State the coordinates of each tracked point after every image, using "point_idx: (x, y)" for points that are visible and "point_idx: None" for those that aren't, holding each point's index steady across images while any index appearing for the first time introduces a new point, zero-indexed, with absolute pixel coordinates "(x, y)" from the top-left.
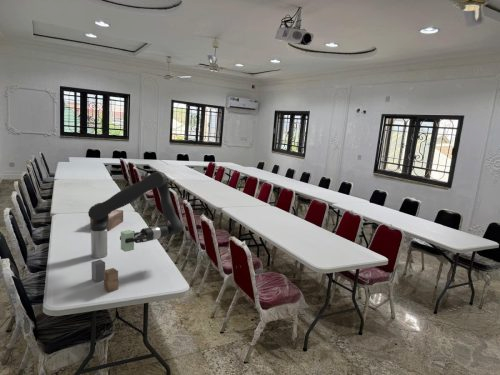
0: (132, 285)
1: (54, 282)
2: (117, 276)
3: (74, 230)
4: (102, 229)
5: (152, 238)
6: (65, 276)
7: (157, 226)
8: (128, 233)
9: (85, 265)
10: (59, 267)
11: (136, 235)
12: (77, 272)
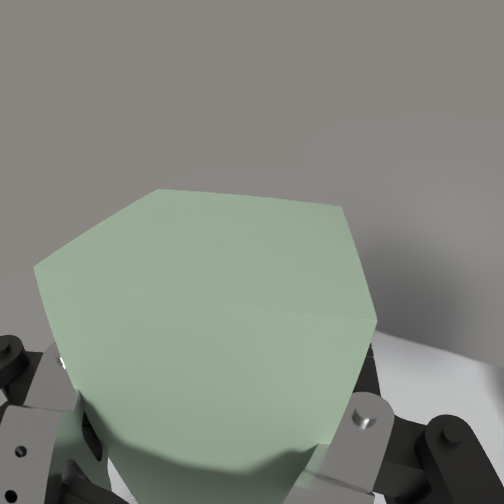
0: (114, 486)
1: (391, 343)
2: None
3: None
4: None
5: None
6: (423, 375)
7: None
8: (128, 206)
9: (493, 451)
10: (499, 382)
11: (36, 433)
12: (440, 412)
